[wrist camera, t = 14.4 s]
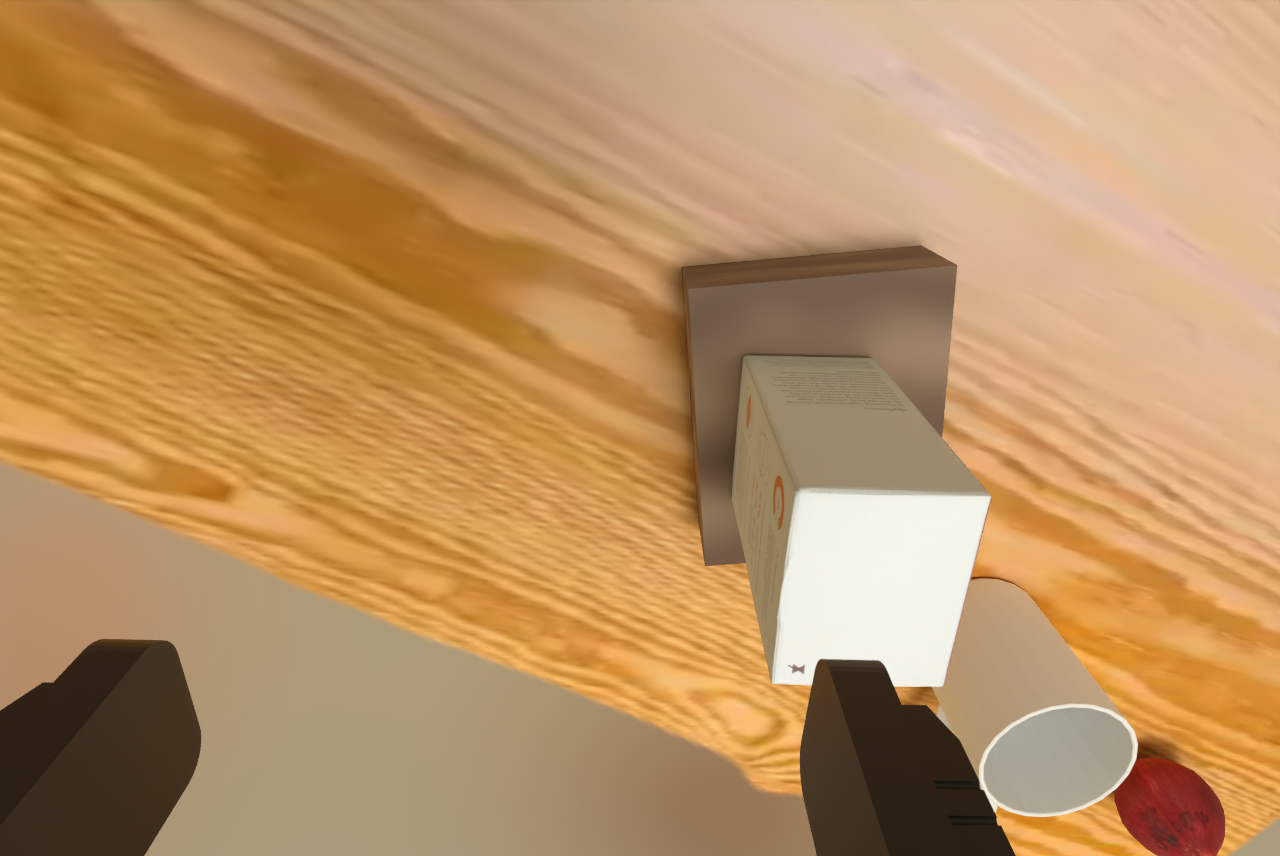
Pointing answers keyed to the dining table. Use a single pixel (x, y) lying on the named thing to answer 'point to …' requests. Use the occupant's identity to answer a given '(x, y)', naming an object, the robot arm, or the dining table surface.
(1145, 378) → the dining table surface
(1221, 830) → the onion
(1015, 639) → the mug
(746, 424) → the small box
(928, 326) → the walnut block
